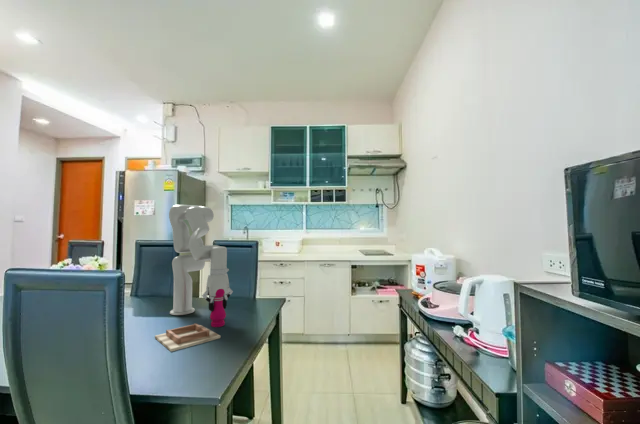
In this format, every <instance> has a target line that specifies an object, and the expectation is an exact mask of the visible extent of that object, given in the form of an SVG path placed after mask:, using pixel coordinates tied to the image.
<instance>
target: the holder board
mask: <svg viewBox="0 0 640 424" xmlns="http://www.w3.org/2000/svg"><path fill="white" fill-rule="evenodd" d="M154 339H155V340H156V341H158V342H159V343H160V344H161V345H162V346H164V347H165V348H166V350H168V351H169V352H174V351H175V352H176V351H178V350H182V349H186V348H190V347H193V346H196V345H201V344H204V343H208V342H211V341H215V340H219V339H221V335H220V334H218V333H216V332H215V331H213V330H211V329H210V328H208V327H206V326H204V325H202V324H199V323H193V324H190V325H183V326H179V327H175V328H172V329H166V330H165V333H160V334H155V335H154Z"/></svg>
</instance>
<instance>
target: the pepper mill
mask: <svg viewBox="0 0 640 424" xmlns="http://www.w3.org/2000/svg"><path fill="white" fill-rule="evenodd" d="M224 293H225V291H224V289H218V290H217V291H216V296H215V297H214V299H213V303H214V309H213V311H210V315H209V316H210V317H209V318H210V321H211V322H210V327H211V328H221V327H223V326H225V325H226V321H225V319H226V316H227V312H226V310H225V309H224V307H223V299H224V297H223V295H224Z"/></svg>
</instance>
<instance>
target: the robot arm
mask: <svg viewBox="0 0 640 424" xmlns="http://www.w3.org/2000/svg"><path fill="white" fill-rule="evenodd" d="M168 219H169V222H170V226H171V230H172V240H173V249H174V251H175V252H176V253H178V254H181V253H182V255H178V256H175V257H174V258H173V259H172V261H171V266H172V273H173V275H172V276H173V300H172V301H173V303H172V304H173V306H172V309H171V310H170V311H169V314H170V315H172V316H184V315H190V314H192V313H194V312H195V311H196V310H195V308H194V307H193V304H192V303H193V278H192V276H191V275H190V274H189V273H190V272H196V271H201V270H203V269H204V267H205V265H206V261H210V265H209V267H210V269H209V270H210V271H209V273H210V274H209V275H208V276H207V280H206V289H205V292H204V293H202V295H201V297H202V298H204V299H205V300H206V301H207V302H208V311H210V312H211V311H213V309H214V301H213V299H214V297H215V296H216V291H217V290H218V289H224V291H225V293H224V295H223V297H224V299H223V307H224V310H225V309H227V306H228V305H227V304H228V299H229V297H230V296H231V295H232V294H233V292H234V291H233V289H232V288H231V287H230V282H229V281H230V280H229V276H228V272H229V271H230V269H229V268H228V267H227V264H228V263H227V261H228V249H227V247H226V246H220V245H217V244H214V245H213V244H212V245H211V244H210V245H204V241H203V239H202V237H204V236H205V235H207V234H208V233H209V232H210V226H209V224H208V223H210V222H212V221H213V219H214V212H213V209H212V208H211V207H208V206H204V205H203V206H202V205H196V204H195V205H193V204H174V205H172V206H171V207H170V209H169V212H168ZM184 220H185V221H186V220H187V222H188V225H187V223H186V222H185V221H184ZM190 230H191V232H192V233H191V235H190ZM185 253H191V254H185Z"/></svg>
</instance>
